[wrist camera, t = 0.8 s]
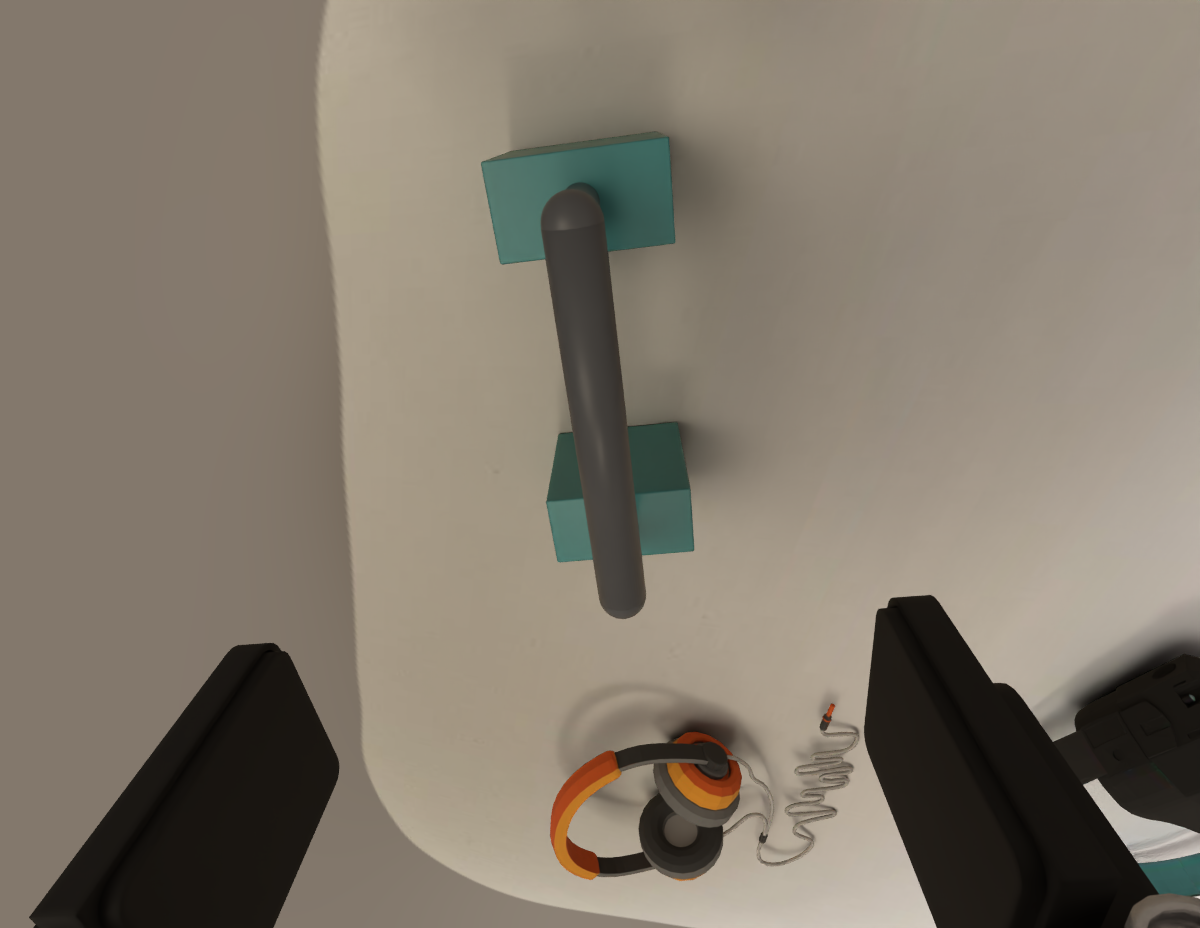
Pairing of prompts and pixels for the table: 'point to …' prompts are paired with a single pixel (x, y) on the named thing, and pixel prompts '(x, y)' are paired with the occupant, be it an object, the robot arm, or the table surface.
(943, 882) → the robot arm
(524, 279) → the table surface
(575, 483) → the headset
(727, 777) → the headphones
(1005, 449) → the table surface
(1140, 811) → the virtual reality headset
